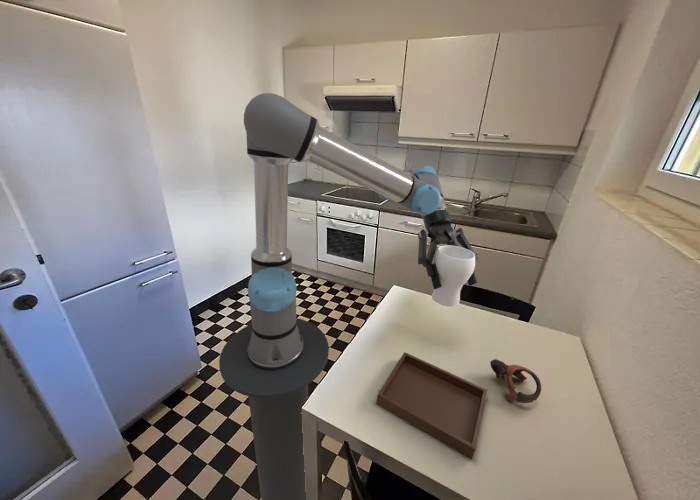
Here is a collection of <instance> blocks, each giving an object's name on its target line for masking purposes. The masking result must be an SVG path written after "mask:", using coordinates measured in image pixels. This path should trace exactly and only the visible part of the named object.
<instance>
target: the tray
mask: <svg viewBox="0 0 700 500" xmlns="http://www.w3.org/2000/svg"><path fill="white" fill-rule="evenodd" d="M487 394H488V389H486V388H484V387H481V386H479V385H477V384H475V383H473V382H471V381H469V380H467V379H465V378H462V377H460V376H458V375H456V374H453V373H451V372H449V371H447V370H445V369H442V368H440V367H438V366H436V365H434V364H432V363H429V362H427V361H426V360H423V359H421V358H418V357H417V356H414V355H412V354H410V353H407V352H406V351H404V352H403V354H402V355H401V357H400V358H399V360H398V362H397V363H396V365H395V366H394V367H393V369H392V371H391V372H390V374H389V376H388V377H387V379H386V380H385V382H384V384H383V385H382V387H380V390H379V391H378V393H377V395H376V396H377V397H376V402H375V404H376V405H378V406H380V407H381V408H383V409H385V410H387V411H388V412H389V413H392V414H394V415H395V416H397V417H398V418H400V419H402V420H403V421H406V422H407V423H409V424H410V425H412V426H415V427H416V428H417V429H419V430H421V431H422V432H424V433H426V434H428V435H430V436H432V437H433V438H435V439H437V440H438V441H440V442H442V443H444V444H445V445H446V446H449V447H450V448H452V449H454V450H455V451H457V452H458V453H460V454H462V455H464V456H466V457H467V458H469V459H470V460H472V459H473V457H474V454H475V451H476V449H477V443H478V439H479V438H478V437H479V433H480V429H481V424H482V419H483V414H484V408H485V405H486V404H485V403H486V399H487Z"/></svg>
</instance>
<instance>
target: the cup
mask: <svg viewBox="0 0 700 500" xmlns="http://www.w3.org/2000/svg"><path fill="white" fill-rule="evenodd" d="M433 263H435V264H436V267H437V271H438V275H439V278H440V282H441V286H442V287H440V288H438V289H434V288H433V291H432V293H431V299H432V300H433V301H434V302H435V303H436V304H438V305H440V306H444V307H456V306H458V305H459V304H460V300H461V291H462V288H463V287H464V285H465V284H466V283H468V279H469V278H470V276H471V275H472V273H473V271H474V268H475V267H476V258H475V254H474V253H473V252H472V251H470V250H468V249H465V248H462V247H459V246H452V245H447V244H444V245H441V246H439V247H437V249H436V252H435V255H434V258H433Z"/></svg>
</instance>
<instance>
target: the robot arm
mask: <svg viewBox="0 0 700 500" xmlns="http://www.w3.org/2000/svg"><path fill="white" fill-rule="evenodd" d="M243 127H244V131H245V133H246V154H247V155H246V156H248V158H250V159H251V160H252V162H253V182H254V183H253V184H254V208H255V210H254V213H255V214H254V215H255V219H254V220H255V246H256V247H255V248H253V250H252V251H251V252H250V264H251V265H250V267H251V277H250V278H249V281H248V284H247V285H248V286H247V296H248V300H249V309H250V318H251V324H252V329H253V331H252V334H251V339H250V341H249V344H248V348H247V351H248V358H249V360H250V362H251V363H252V364H253V365H254V366H255V367H257V368H259V369H263V370H279V369H283V368H286V367H288V366H290V365H292V364H293V363H295V362H296V361H297V360H298V359H299V358H300V357H301V355H302V353H303V348H304V343H303V338H302V336H301V335H302V334H300V333H301V332H300V330H299V329H298V327H297V323H296V318H297V283H296V279H295V277H294V275H293V274H292V271H293V270H292V267H293V266H292V265H293V252H292V250H291V249H289V248H288V203H289V199H288V198H289V195H288V192H289V165H290V163H292V161H293V160H294V161H297V162H298V163H303V162H306V161H307V162H309V163H312V164H314V165H316V166H318V167H320V168H322V169H325V170H326V171H329V172H331V173H333V174H335V175H337V176H339V177H341V178H344V179H346V180H348V181H351V182H352V183H355V184H357V185H359V186H361V187H363V188H365V189H368V190H370V191H372V192H374V193H376V194H378V196H379V198H380V199H381V200H386V201H387V200H388V201H393V202H395V203H397V204H399V205H401V206H404V207H406V208H407V209H409V210H411V211H413V212H415V213H416V214H420V215H421V217H422V220H423V223H424V224H423V225H424V228H425V229H423V228H422V229H421V230H419V232H418V233H417V238H418V253H417V254H418V255H417V264H418V265H422V267H424V268H425V269H426V273H427V276H428V278H430V280H431V283H432V287H433V290H434V289H438V288H440V287H442V286H441V282H440V278H439V275H438V271H437V267H436V264H435V263H434V257H435V254H436V252H437V249H438V245H452V246H459V247H462V248H465V249H468V250H470V251H472V252H473V253H474V254H475V259H477V258H478V254H477V253H476V251H475V250H474V248H473V247H472V245H471V244H470V242H469V240H468V239H467V237H466V236H465V233H464V230H463V228H462V227H459V228H458V229H457V228H456V229H454V228H453V227H452V219H451V216H450V213H449V211H448V207H447V203H446V200H445V197H444V194H443V189H442V186H441V183H440V178H439V176H438V173H437V172H436V170H435V168H434V167H433V166H430V165H424V166H420V167H417V168H415V170H414V171H413V172H412V174H410V173H408V172H406V171H404V170H402V169H401V168H398V167H397V166H395V165H394V164H391V163H389V162H387V161H385V160H384V159H381V158H380V157H378V156H376V155H374V154H372V153H370V152H369V151H367V150H365V149H363V148H361V147H360V146H357V145H356V144H354V143H352V142H349V141H348V140H346V139H344V138H342V137H340V136H339V135H337V134H335V133H333V132H331V131H329V130H327V129H326V128H324V127H322V126H321V125H320V122H319V119H317V118H316V117H314V116H312V115H310V114H308V113H307V112H305V111H304V110H302V109H301V108H300V107H298V106H296V105H294V104H293V103H292V102H290V101H289V100H288V99H287V98H285V97H284V96H281V95H279V94H277V93H272V92H264V93H259V94H257V95H256V96H254V97H252V98H251V99H250V101H248V103H247V105H246V106H245V109H244V112H243ZM428 238H429V239H430V241H429V244H428ZM428 245H429V247H427V246H428ZM427 248H428V250H427ZM475 272H476V269H475V268H474V271H473V273H472V275H471V276H470V278H469V279H468V281H467V284H468V286H473V285H476V284H478V280H477V277H476V274H475Z"/></svg>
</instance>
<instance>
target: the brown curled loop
mask: <svg viewBox="0 0 700 500" xmlns="http://www.w3.org/2000/svg"><path fill="white" fill-rule="evenodd" d="M490 368H491V370H492V371H493V373H494V374H495V377H496V379H497V380H499V378H500V377H504V382H505V386H506V388H507V390H508V392H509V393H507V394H505V398H506V399H507V400H508V401H509V402H516V403H520V404H530V403H533V402H534V401H537V399H538V398H539V397H540V395H541V392H542V383H541V381H540V378H539V377H538V376H537V374H535V372H533V371H532V370H531V369H529V368H527V367H524V366H521V365H519V364H506V363H505V362H504V361H501V360H499V359H497V358H495V359H492V360H490ZM522 372H526V373H527V374H528V375H530V376H531V377H532V378H533V381H534V382H535V384H536V389H535V392H533V393H532V394H525V393H523V392H522V391H518V393H517V392H516V390H515V389H516V386H515V384H514V382H513V376H514V377H516V378H517V379H519V381H521V382H522V383H523V382H524V381H525V380H527V379H528V378H527V376H526V375H525V374H524V373H522Z"/></svg>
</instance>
